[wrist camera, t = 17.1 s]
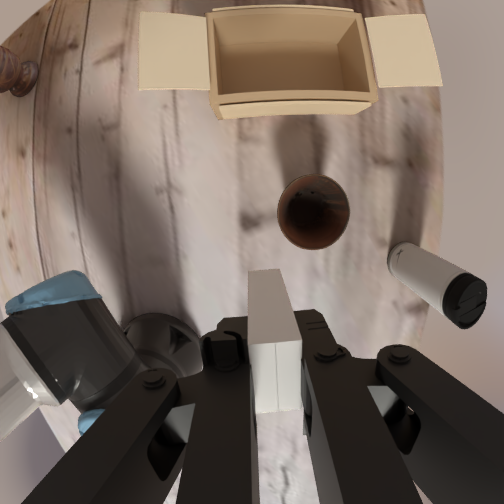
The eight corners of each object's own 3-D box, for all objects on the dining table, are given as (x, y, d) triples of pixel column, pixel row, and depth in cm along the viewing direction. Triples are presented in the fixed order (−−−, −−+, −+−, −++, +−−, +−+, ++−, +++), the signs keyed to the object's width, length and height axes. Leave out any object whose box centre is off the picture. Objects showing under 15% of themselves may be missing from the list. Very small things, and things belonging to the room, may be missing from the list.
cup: (274, 247, 45) (283, 256, 35) (265, 187, 44) (272, 178, 34) (331, 239, 45) (355, 245, 35) (323, 180, 44) (345, 170, 34)
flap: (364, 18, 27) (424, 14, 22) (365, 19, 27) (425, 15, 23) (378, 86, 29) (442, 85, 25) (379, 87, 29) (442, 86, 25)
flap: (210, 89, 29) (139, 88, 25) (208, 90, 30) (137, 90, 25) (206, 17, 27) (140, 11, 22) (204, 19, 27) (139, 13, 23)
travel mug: (382, 247, 45) (454, 292, 26) (415, 237, 45) (494, 274, 26) (387, 282, 47) (452, 340, 28) (419, 271, 47) (491, 320, 27)
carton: (218, 124, 41) (210, 109, 31) (212, 39, 37) (204, 9, 27) (352, 118, 40) (379, 105, 31) (340, 37, 37) (360, 9, 27)
